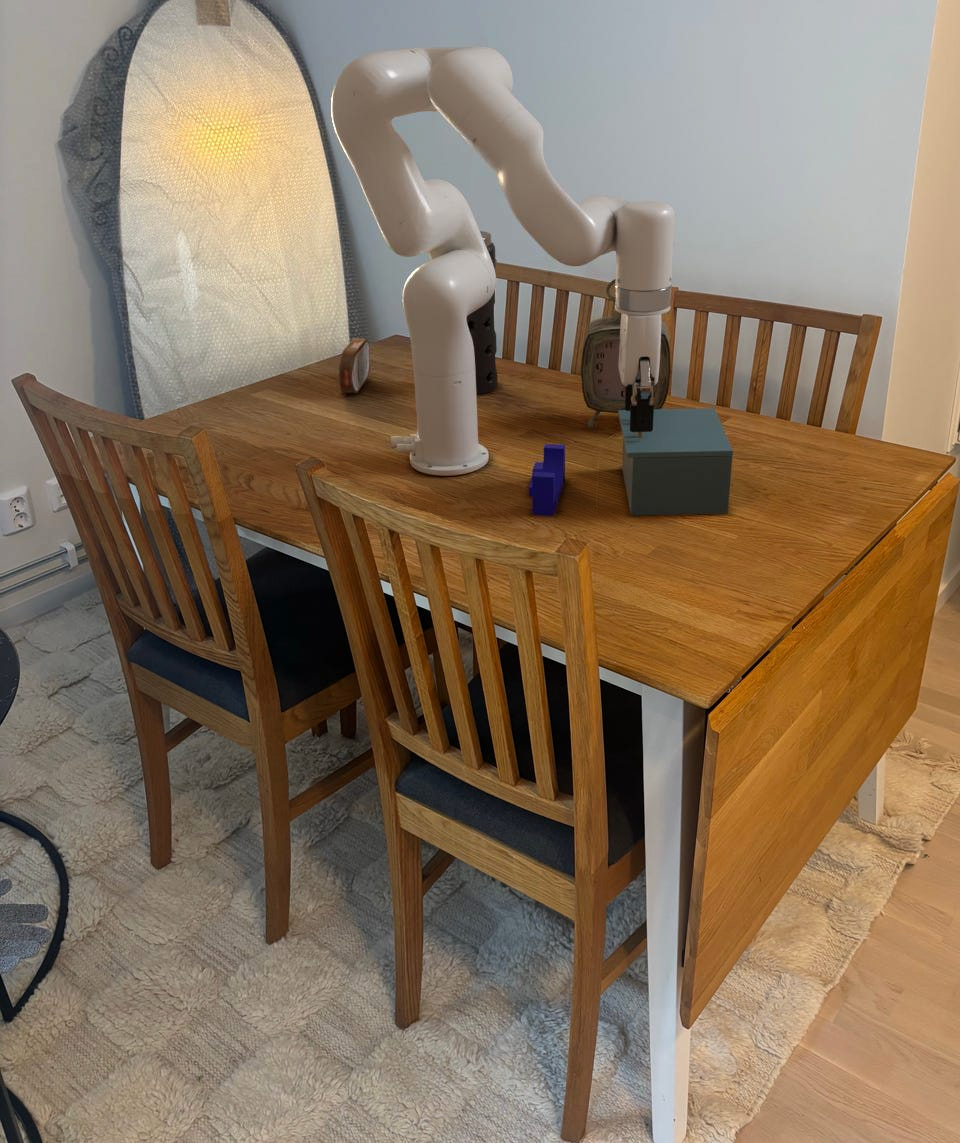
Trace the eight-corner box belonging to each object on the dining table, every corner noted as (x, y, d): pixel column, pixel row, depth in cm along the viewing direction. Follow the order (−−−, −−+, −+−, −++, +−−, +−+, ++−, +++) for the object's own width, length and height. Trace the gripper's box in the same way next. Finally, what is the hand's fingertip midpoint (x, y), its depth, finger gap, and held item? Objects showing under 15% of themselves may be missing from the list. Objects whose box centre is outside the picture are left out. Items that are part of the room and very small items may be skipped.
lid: (627, 458, 148) (628, 421, 146) (618, 414, 163) (619, 380, 160) (732, 456, 147) (735, 418, 145) (714, 412, 162) (716, 378, 159)
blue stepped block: (535, 479, 165) (535, 443, 162) (565, 481, 164) (565, 444, 161) (522, 514, 154) (521, 475, 151) (553, 515, 153) (553, 477, 150)
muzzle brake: (443, 396, 198) (499, 395, 198) (434, 241, 185) (494, 239, 185) (445, 380, 207) (499, 378, 206) (437, 230, 193) (494, 228, 193)
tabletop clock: (580, 432, 181) (581, 283, 169) (582, 413, 188) (584, 269, 176) (667, 433, 179) (675, 282, 167) (666, 414, 187) (673, 268, 174)
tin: (358, 373, 212) (355, 331, 208) (374, 373, 212) (370, 331, 208) (339, 400, 199) (334, 355, 195) (356, 400, 199) (351, 356, 195)
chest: (631, 515, 152) (633, 458, 148) (622, 468, 167) (623, 415, 163) (727, 514, 152) (732, 456, 147) (710, 467, 166) (714, 413, 162)
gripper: (610, 282, 153) (608, 400, 162) (619, 316, 138) (616, 444, 147) (663, 281, 153) (658, 399, 162) (678, 315, 138) (671, 443, 146)
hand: (638, 419), depth 154 cm, fingers open, 7 cm apart
